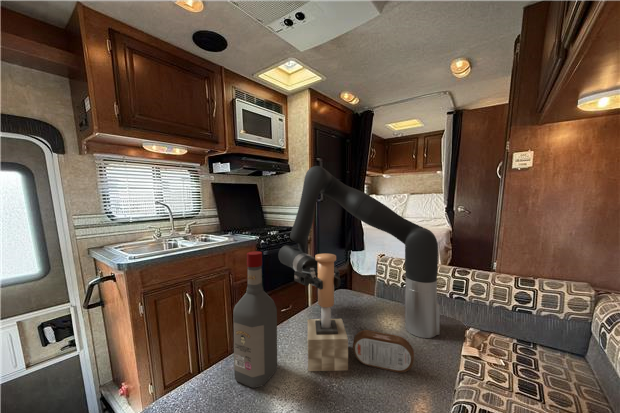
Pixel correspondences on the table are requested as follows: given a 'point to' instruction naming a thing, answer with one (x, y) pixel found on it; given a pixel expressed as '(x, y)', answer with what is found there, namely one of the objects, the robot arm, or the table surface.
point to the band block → (327, 346)
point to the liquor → (255, 329)
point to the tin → (383, 351)
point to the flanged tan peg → (326, 287)
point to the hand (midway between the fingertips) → (330, 284)
